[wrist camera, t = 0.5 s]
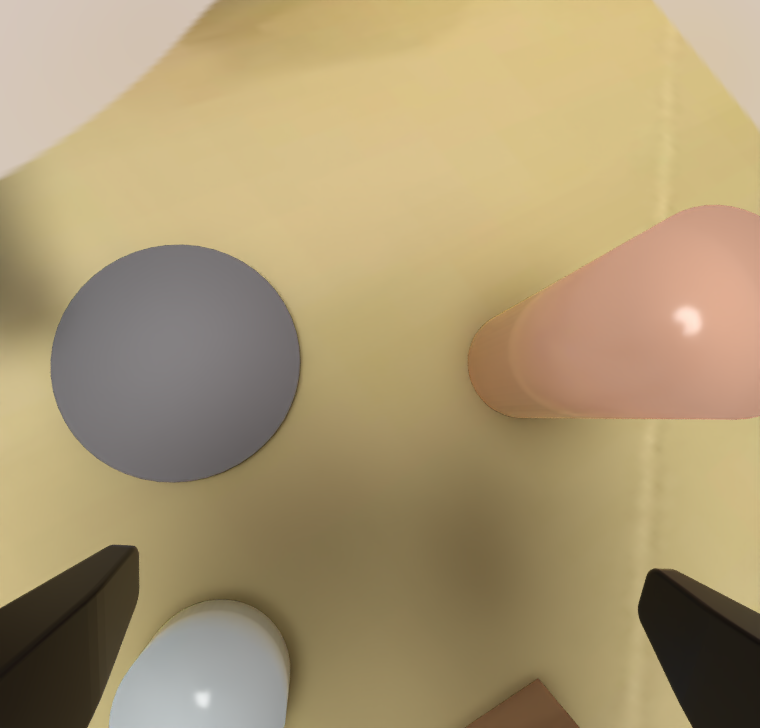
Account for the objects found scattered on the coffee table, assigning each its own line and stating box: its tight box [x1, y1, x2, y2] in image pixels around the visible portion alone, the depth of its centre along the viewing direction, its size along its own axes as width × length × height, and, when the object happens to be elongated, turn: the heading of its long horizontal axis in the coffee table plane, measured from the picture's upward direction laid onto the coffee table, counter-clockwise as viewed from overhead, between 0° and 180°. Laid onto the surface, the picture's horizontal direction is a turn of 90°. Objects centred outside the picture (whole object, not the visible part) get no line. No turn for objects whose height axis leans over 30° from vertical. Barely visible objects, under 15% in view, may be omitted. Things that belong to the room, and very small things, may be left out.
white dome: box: [109, 599, 290, 728], centre depth 19 cm, size 6×6×3 cm
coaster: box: [51, 245, 300, 482], centre depth 21 cm, size 10×10×1 cm
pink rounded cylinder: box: [468, 205, 760, 420], centre depth 17 cm, size 5×5×12 cm
